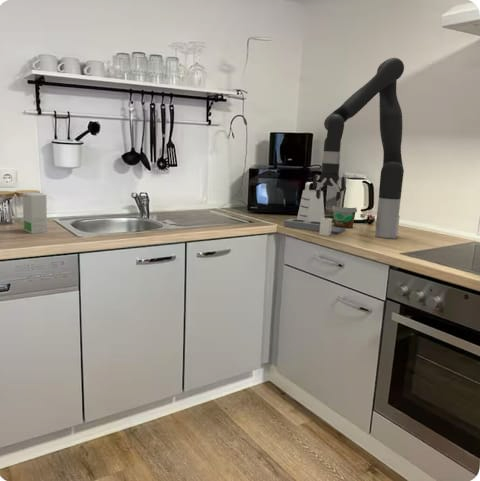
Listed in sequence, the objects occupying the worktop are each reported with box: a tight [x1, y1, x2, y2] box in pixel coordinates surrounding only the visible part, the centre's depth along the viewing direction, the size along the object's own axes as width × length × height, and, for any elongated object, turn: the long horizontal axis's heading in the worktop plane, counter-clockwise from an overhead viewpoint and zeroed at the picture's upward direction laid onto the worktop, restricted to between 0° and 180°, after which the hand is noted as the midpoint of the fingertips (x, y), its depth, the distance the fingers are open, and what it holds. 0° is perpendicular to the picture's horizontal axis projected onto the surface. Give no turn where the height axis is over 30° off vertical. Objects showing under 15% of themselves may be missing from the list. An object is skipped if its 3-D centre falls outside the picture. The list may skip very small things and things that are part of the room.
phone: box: [330, 226, 347, 235], centre depth 209 cm, size 6×12×1 cm, turn 152°
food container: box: [331, 205, 358, 229], centre depth 221 cm, size 12×6×10 cm, turn 62°
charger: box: [319, 217, 333, 236], centre depth 201 cm, size 4×4×7 cm
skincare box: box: [22, 191, 48, 235], centre depth 183 cm, size 8×7×16 cm
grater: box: [296, 181, 326, 222], centre depth 236 cm, size 10×10×20 cm
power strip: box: [283, 218, 320, 232], centre depth 215 cm, size 20×9×3 cm, turn 62°
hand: (327, 199), depth 199 cm, fingers open, 8 cm apart
